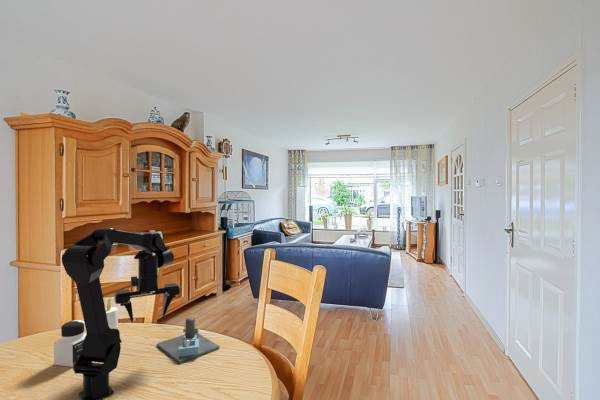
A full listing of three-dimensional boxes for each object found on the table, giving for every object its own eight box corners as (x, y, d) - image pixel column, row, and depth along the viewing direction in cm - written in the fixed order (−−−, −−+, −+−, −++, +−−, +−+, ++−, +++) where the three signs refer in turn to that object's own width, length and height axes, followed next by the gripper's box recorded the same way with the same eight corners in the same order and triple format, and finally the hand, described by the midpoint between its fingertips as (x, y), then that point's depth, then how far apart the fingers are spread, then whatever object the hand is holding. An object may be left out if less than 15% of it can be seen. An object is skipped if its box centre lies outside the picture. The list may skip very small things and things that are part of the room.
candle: (93, 341, 115) (92, 299, 115) (110, 334, 121) (110, 294, 120) (104, 344, 112) (104, 301, 112) (122, 337, 118) (121, 296, 118)
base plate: (219, 348, 110) (219, 333, 109) (179, 363, 99) (179, 348, 99) (194, 333, 121) (194, 320, 121) (156, 346, 111) (156, 332, 111)
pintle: (190, 354, 105) (190, 340, 105) (186, 355, 104) (185, 341, 104) (188, 352, 106) (188, 338, 106) (183, 354, 105) (183, 340, 105)
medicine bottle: (73, 367, 97) (72, 327, 97) (53, 365, 99) (53, 326, 99) (92, 356, 104) (92, 319, 104) (74, 353, 106) (73, 317, 106)
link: (198, 354, 104) (198, 328, 104) (178, 356, 102) (178, 330, 102) (200, 335, 117) (199, 312, 117) (182, 337, 116) (182, 314, 116)
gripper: (172, 264, 117) (172, 307, 117) (113, 270, 106) (112, 317, 106) (180, 269, 107) (180, 316, 107) (115, 276, 97) (115, 328, 97)
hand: (148, 319), depth 105 cm, fingers open, 9 cm apart
